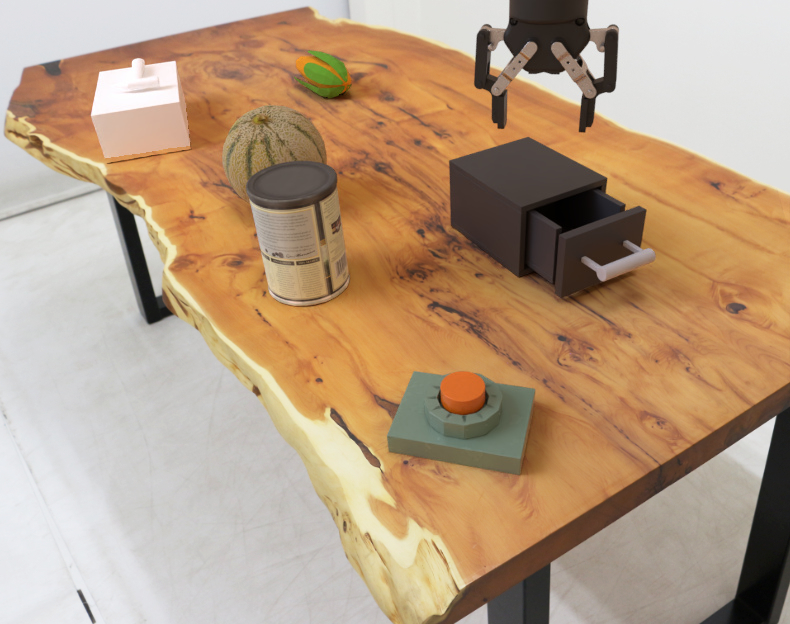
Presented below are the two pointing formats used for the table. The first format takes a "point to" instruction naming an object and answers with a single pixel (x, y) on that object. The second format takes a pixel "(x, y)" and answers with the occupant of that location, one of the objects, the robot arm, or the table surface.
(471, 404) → the button
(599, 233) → the dark drawer
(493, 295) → the table surface
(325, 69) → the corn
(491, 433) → the control block
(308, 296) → the coffee can
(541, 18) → the robot arm
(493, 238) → the small drawer cabinet
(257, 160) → the cantaloupe
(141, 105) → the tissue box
